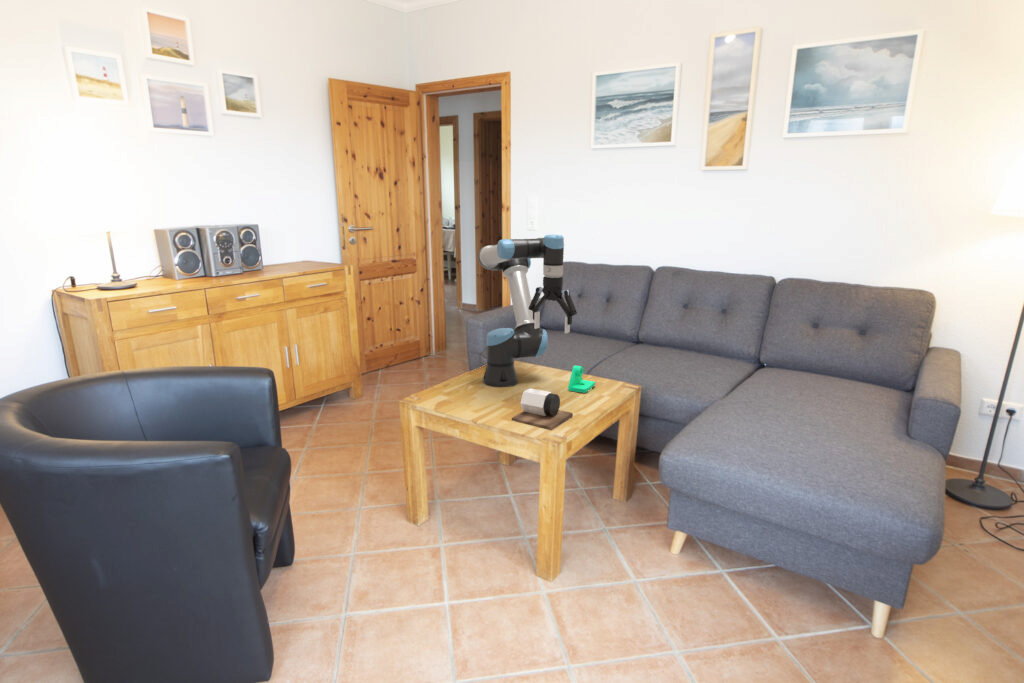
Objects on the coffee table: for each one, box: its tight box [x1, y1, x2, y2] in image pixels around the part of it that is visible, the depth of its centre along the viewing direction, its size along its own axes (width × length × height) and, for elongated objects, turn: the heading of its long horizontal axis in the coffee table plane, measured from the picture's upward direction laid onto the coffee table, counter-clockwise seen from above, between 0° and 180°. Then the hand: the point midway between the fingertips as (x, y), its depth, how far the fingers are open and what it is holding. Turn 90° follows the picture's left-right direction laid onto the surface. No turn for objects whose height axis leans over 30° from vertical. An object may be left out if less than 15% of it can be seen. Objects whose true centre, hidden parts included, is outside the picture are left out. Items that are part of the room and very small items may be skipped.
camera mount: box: [567, 365, 596, 394], centre depth 234 cm, size 12×8×10 cm, turn 151°
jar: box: [520, 388, 561, 416], centre depth 201 cm, size 9×8×12 cm
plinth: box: [511, 409, 574, 431], centre depth 200 cm, size 16×16×2 cm
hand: (551, 330), depth 218 cm, fingers open, 13 cm apart
